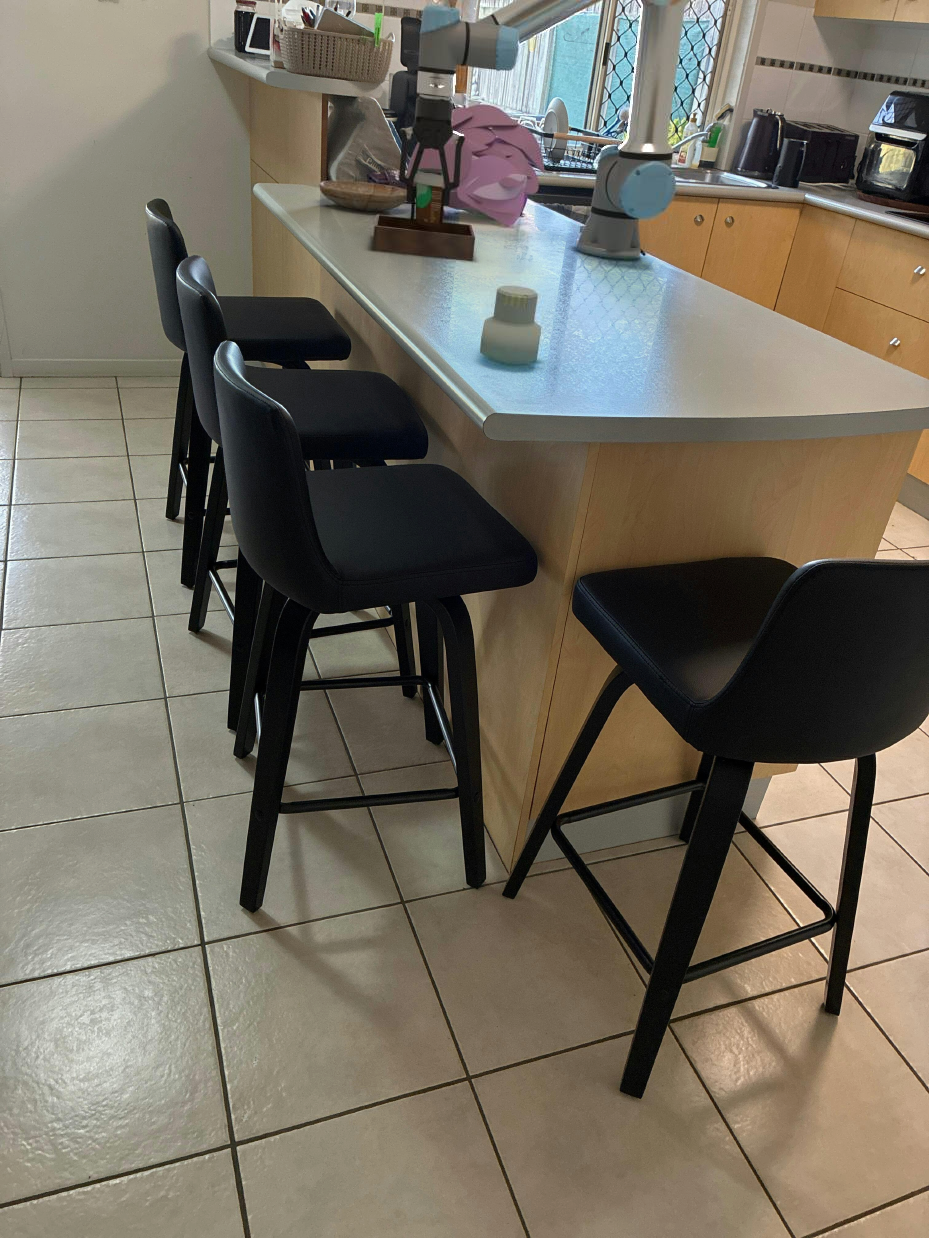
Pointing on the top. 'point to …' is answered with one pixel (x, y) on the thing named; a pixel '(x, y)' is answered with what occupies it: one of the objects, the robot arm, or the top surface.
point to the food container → (428, 196)
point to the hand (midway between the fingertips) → (426, 220)
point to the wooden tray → (423, 238)
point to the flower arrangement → (489, 163)
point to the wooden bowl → (363, 195)
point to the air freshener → (512, 327)
